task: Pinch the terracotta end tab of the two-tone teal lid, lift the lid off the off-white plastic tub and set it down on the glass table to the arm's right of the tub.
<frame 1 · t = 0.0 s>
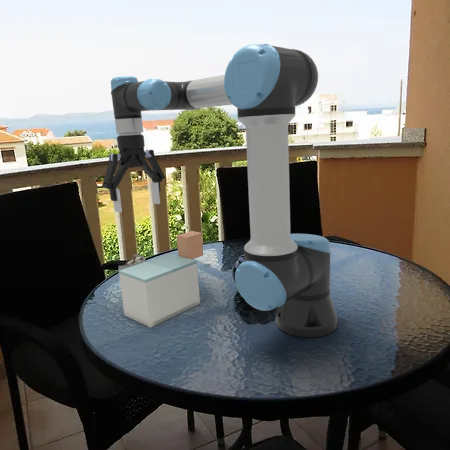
hand: (138, 207, 122), 28 cm above the table, tool pointing down, fingers open, 13 cm apart
lid: (158, 268, 115), point 12 cm above the table, touching tub
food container: (138, 289, 134), on the table
tub: (163, 309, 118), on the table
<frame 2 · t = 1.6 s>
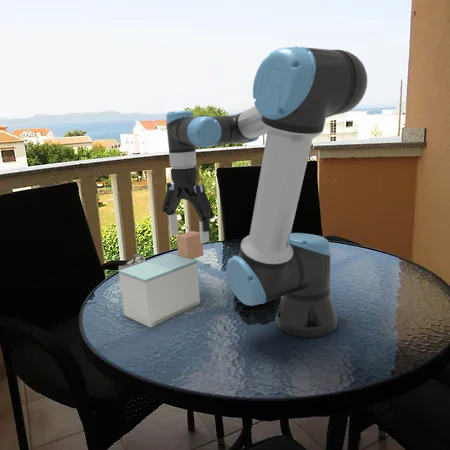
hand: (189, 238, 122), 18 cm above the table, tool pointing down, fingers open, 13 cm apart
nothing on the table moved.
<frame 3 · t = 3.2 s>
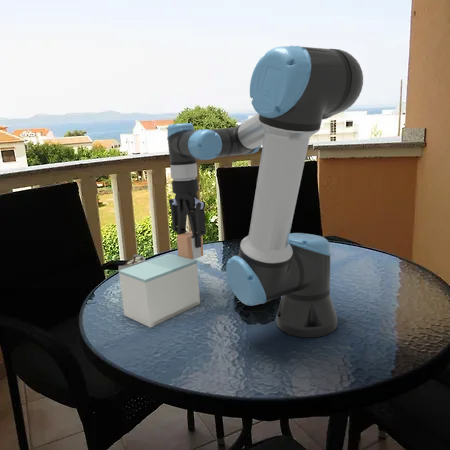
hand: (191, 256, 123), 13 cm above the table, tool pointing down, fingers closed on lid, 4 cm apart
lid: (158, 268, 115), point 13 cm above the table, touching gripper, tub
everything else where it was.
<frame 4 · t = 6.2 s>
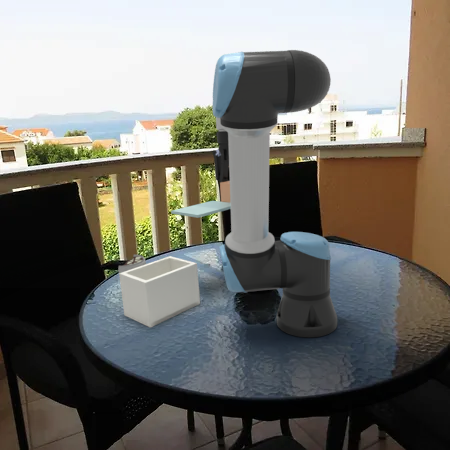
hand: (232, 202, 136), 25 cm above the table, tool pointing down, fingers closed on lid, 4 cm apart
lid: (206, 209, 127), point 25 cm above the table, touching gripper
everything else where it was.
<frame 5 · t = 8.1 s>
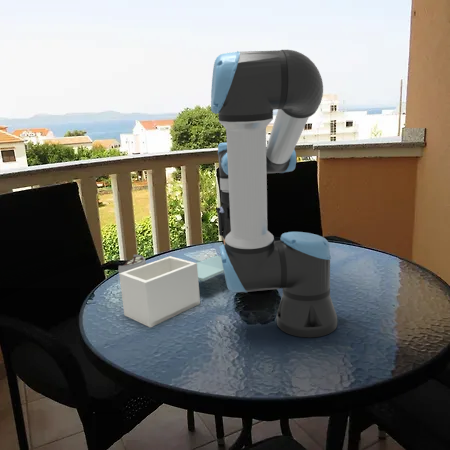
hand: (235, 257, 140), 6 cm above the table, tool pointing down, fingers closed on lid, 4 cm apart
lid: (210, 268, 132), point 6 cm above the table, touching gripper
everything else where it was.
when the fingers open (2 cm above the table, at t = 9.4 s): lid drops 2 cm, on the table.
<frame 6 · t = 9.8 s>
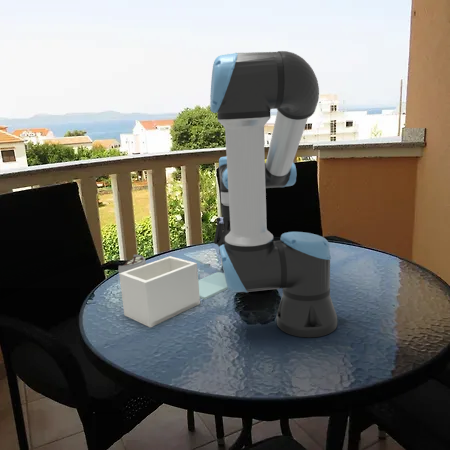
hand: (236, 267, 141), 3 cm above the table, tool pointing down, fingers open, 10 cm apart
lid: (211, 286, 133), on the table
everything else where it was.
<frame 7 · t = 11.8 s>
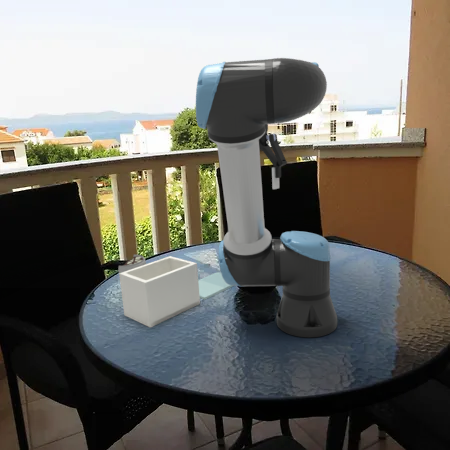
hand: (257, 188, 130), 30 cm above the table, tool pointing down, fingers open, 13 cm apart
nothing on the table moved.
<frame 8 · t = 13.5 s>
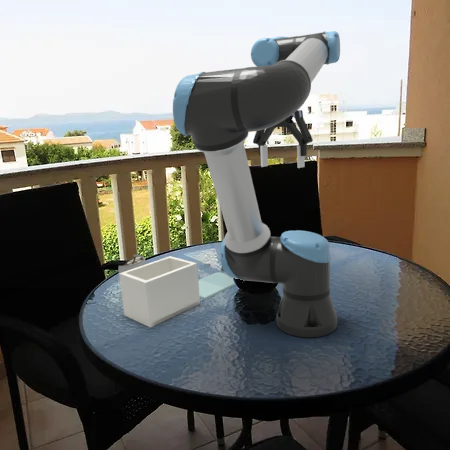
hand: (282, 167, 126), 37 cm above the table, tool pointing down, fingers open, 13 cm apart
nothing on the table moved.
at the end: lid inside the target area (1.1 cm from its centre), on the table; the gripper is holding nothing; lid touching table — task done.
